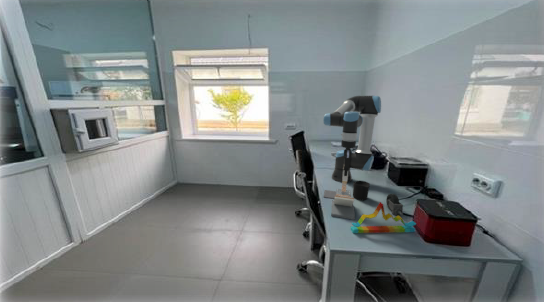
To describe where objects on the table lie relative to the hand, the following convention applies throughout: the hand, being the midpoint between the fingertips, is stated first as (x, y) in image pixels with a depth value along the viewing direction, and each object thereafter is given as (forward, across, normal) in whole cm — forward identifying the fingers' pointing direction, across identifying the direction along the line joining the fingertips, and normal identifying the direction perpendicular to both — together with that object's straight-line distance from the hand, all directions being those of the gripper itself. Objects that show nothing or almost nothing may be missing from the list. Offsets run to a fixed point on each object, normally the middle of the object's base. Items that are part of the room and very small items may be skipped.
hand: (344, 179), depth 121 cm
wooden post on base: (+9, 0, 0) cm, 9 cm away
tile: (+14, +3, 0) cm, 14 cm away
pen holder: (+16, -14, +11) cm, 24 cm away
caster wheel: (+17, -1, +28) cm, 33 cm away
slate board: (+16, +7, 0) cm, 17 cm away
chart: (+17, +20, +18) cm, 32 cm away
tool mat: (+16, -12, -7) cm, 21 cm away
